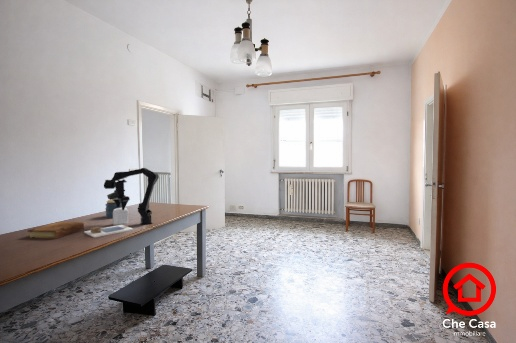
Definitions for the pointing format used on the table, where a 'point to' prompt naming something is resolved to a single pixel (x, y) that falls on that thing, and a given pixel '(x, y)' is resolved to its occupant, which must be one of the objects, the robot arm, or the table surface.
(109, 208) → the canister
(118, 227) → the blueprint board
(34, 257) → the table surface
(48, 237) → the diary
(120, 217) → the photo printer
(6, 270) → the table surface
